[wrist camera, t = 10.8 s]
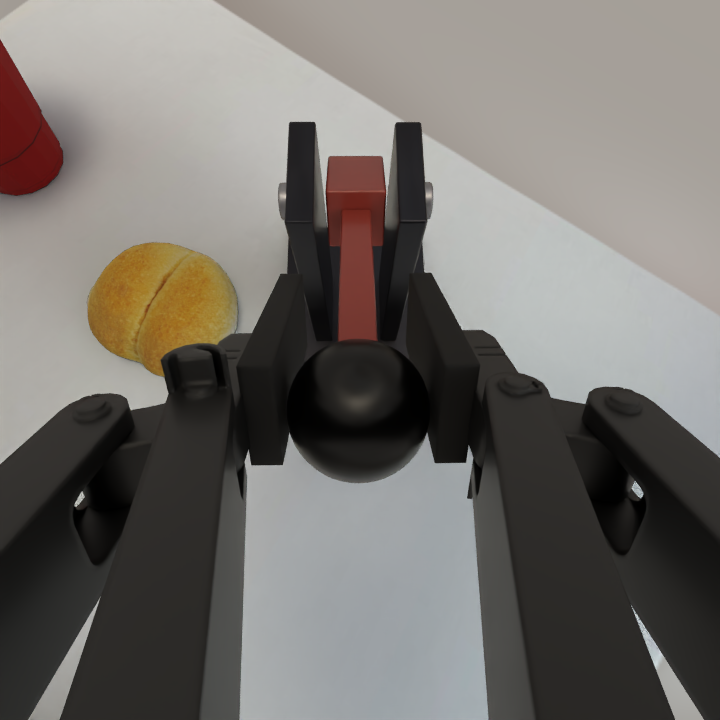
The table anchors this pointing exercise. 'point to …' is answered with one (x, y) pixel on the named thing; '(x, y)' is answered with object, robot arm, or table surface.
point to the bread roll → (160, 303)
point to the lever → (357, 351)
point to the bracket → (322, 261)
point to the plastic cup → (23, 136)
